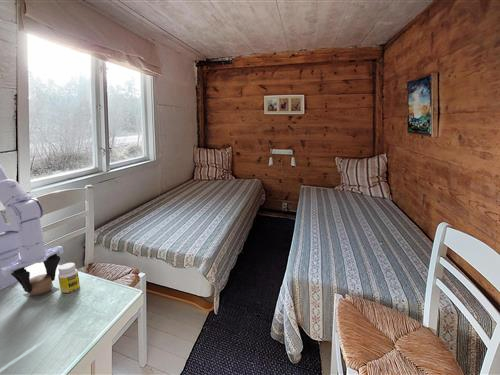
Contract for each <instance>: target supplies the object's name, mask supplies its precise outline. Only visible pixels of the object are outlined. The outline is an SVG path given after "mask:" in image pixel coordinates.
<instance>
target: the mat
mask: <svg viewBox="0 0 500 375" xmlns="http://www.w3.org/2000/svg"><path fill="white" fill-rule="evenodd" d="M57 291H60V287H59V288H58V287H55V286H53V287H52V288H51V289H50V290H49V291H47V292H45V293H42V294H38V295H30V294H29V293H28V292H25V293H24V294H23V296H24V297H26V298H29V299H32V300H34V301H36V302H39V301H41V300H42V299H44V298H47V297H49V296H50V295H52V294H55V292H57Z"/></svg>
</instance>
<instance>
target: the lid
mask: <svg viewBox="0 0 500 375" xmlns="http://www.w3.org/2000/svg"><path fill="white" fill-rule="evenodd" d="M30 285H31V289H32V292H30V293H29V294H30V295H38V294H42V293H45V292H47V291H49V290H50V289H51V288H52V287H54V286H53V281H52V279H51V275H49V274H47V273H43V274H39V275H36V276H34V277H32V278H30Z"/></svg>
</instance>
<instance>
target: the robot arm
mask: <svg viewBox="0 0 500 375" xmlns="http://www.w3.org/2000/svg"><path fill="white" fill-rule="evenodd" d="M0 203H1V204H2V205H3V207H4V209H5V216H6V219H7V221H8V222H9V223H6V222H5V220H4V218H3V215H2V212H1V211H0V290H3V289H4V288H8V287H9V286H12V285H14V284H16V283H19V284H20V286H21V287H22V289H23V291H24V292H25V293H30V292H32V289H31V285H30V279H31V278H30V277H31V272H30V271H27V269H26V268H28V267H30V266H33V265H34V264H41V263H43V266H44V268H45V272H46V273H45V274H49V275H51V279H52V282H54V281H55V279H56V272H57V269H58V267H59V266H58V265H59V263H60V261H61V257H60V256H59V255H61V254H64V249H63V246H61V245H57V246H54V247H52V248H46V244H45V238H44V232H43V229H42V228H43V227H42V223H41V219H40V218H42V217H43V216H44V208H43V205H42V204H41V202H40V200H39V199H37V198H34V197H33V196H32V195H29V194H27V192H26V190H24V188H23V187H22V186H21V184H20V183H19V182H18V181H17V180H14V179H10V177H9V176H8V174H7V173H6V171H5V170H4V167H3V166H2V164H1V163H0Z"/></svg>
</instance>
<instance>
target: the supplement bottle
mask: <svg viewBox="0 0 500 375" xmlns="http://www.w3.org/2000/svg"><path fill="white" fill-rule="evenodd" d="M57 277H58V282H59V283H58V284H59V290H60V293H61V295H63V296H68V295H72V294H75V293H76V292H79V291H80V289H81V284H80V279H79V278H80V277H79V272H78V269H77V267H76V263H74V262H66V263H64V264H61V265H59V266H58V275H57Z"/></svg>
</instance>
